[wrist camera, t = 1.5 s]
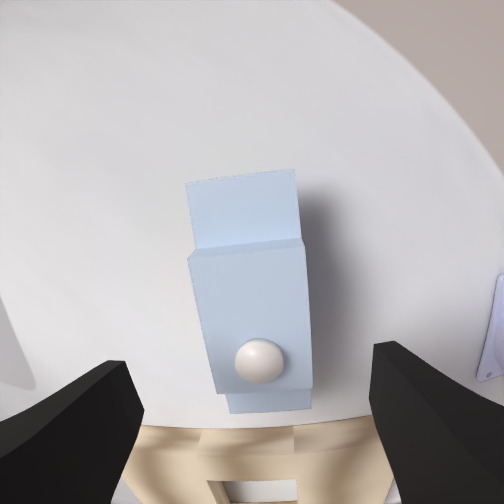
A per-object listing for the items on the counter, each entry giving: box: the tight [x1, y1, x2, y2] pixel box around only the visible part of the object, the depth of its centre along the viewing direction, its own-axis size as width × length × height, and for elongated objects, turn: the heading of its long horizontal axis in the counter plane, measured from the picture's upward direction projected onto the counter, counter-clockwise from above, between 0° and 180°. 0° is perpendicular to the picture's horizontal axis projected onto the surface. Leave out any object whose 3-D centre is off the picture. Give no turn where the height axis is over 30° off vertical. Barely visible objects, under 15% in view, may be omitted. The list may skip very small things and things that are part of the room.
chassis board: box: [121, 415, 394, 504], centre depth 19 cm, size 20×14×2 cm
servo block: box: [186, 169, 313, 414], centre depth 13 cm, size 4×11×5 cm, turn 7°
